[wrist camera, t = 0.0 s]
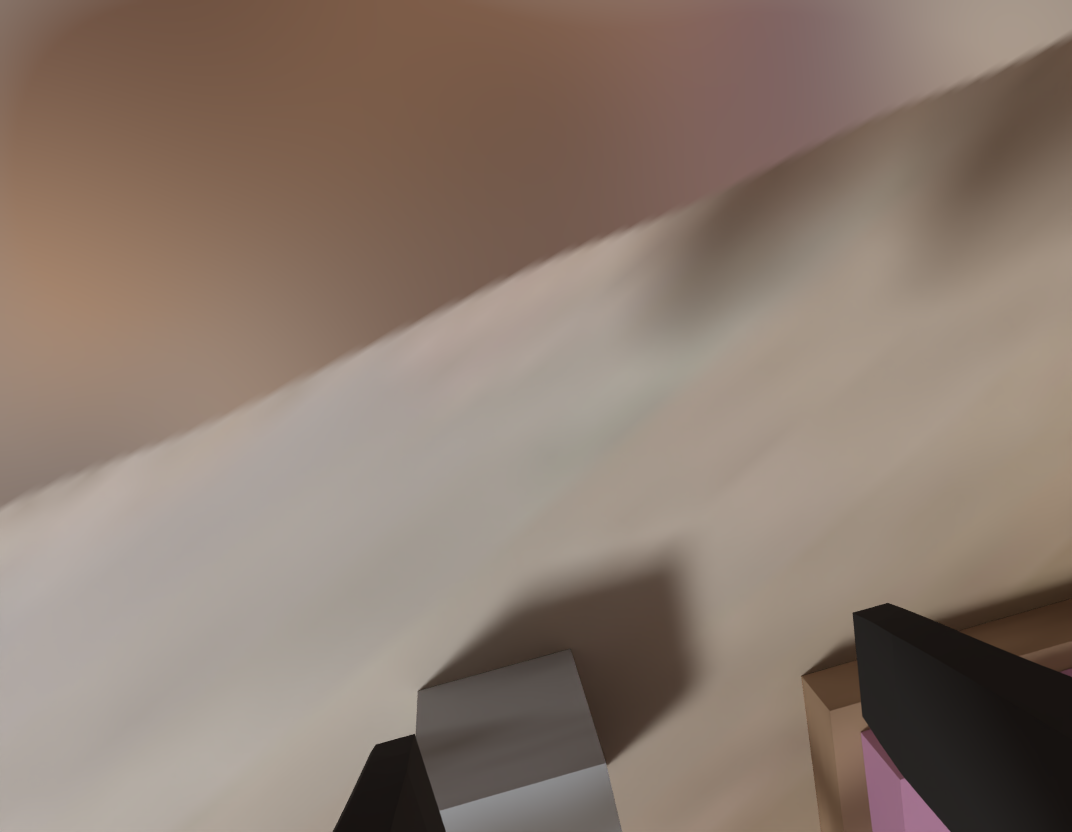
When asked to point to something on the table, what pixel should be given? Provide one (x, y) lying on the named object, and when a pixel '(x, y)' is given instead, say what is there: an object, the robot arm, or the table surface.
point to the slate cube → (516, 751)
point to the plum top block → (895, 793)
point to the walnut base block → (837, 723)
